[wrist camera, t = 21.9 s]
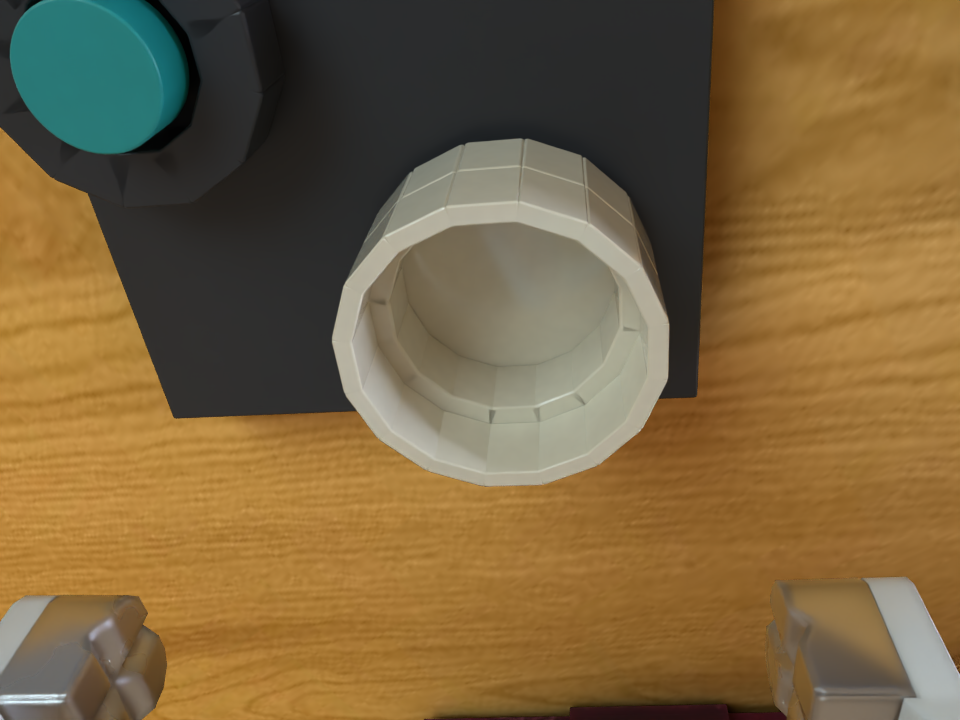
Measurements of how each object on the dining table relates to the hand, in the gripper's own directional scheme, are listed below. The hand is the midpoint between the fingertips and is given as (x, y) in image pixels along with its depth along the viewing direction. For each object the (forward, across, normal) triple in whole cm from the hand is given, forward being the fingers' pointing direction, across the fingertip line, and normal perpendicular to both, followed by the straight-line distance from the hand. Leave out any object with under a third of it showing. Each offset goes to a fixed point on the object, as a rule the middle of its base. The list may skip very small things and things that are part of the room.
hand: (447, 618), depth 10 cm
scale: (+12, +2, -2) cm, 12 cm away
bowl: (+10, 0, 0) cm, 10 cm away
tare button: (+9, +7, -5) cm, 12 cm away
